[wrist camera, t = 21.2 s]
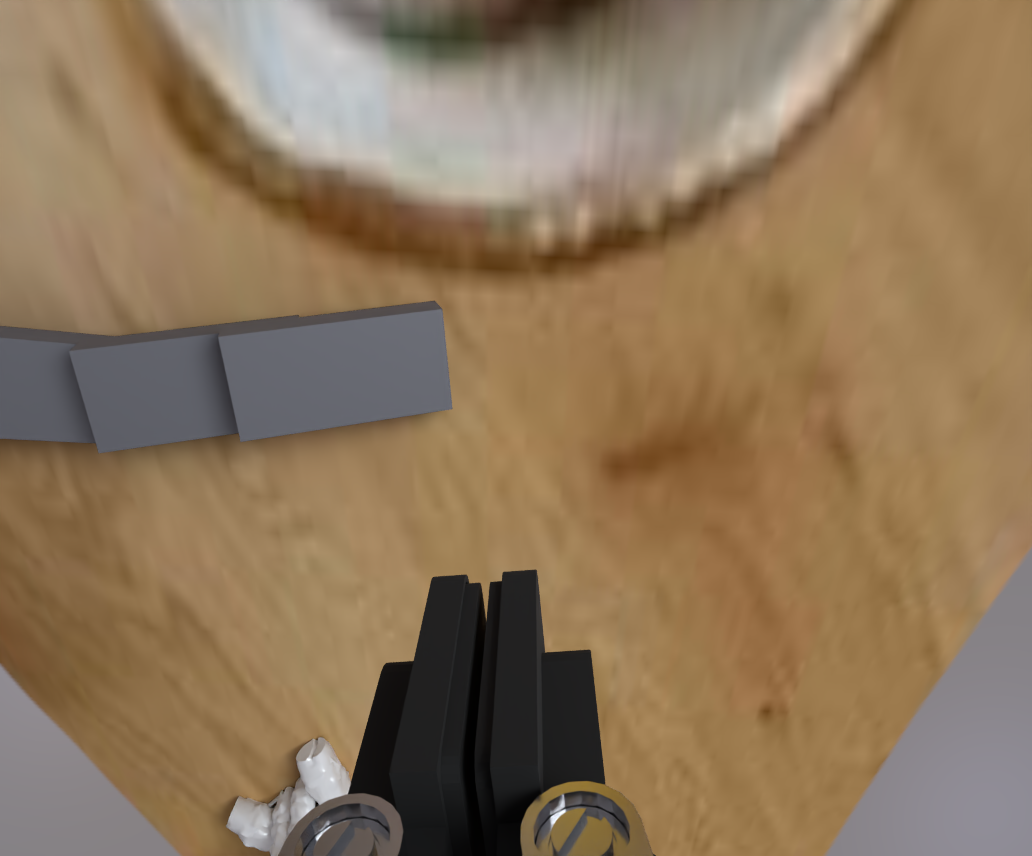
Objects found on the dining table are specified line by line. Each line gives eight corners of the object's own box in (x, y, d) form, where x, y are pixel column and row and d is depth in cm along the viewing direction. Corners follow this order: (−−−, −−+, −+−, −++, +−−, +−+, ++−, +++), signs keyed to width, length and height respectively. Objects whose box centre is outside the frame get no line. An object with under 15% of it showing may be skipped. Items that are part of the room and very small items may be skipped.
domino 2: (297, 324, 36) (68, 351, 34) (314, 422, 38) (98, 453, 36) (298, 314, 38) (81, 340, 36) (315, 409, 40) (109, 437, 38)
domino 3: (442, 309, 36) (217, 336, 34) (452, 408, 38) (240, 442, 35) (434, 300, 38) (221, 326, 35) (444, 396, 39) (242, 426, 37)
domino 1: (130, 349, 37) (-122, 327, 34) (130, 445, 38) (-111, 432, 35) (137, 338, 39) (-102, 316, 35) (136, 430, 40) (-93, 418, 37)
